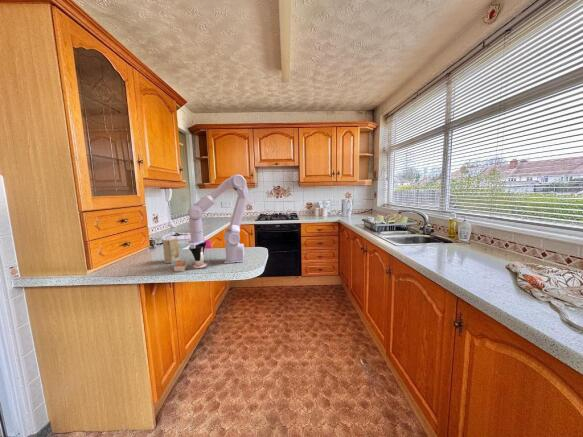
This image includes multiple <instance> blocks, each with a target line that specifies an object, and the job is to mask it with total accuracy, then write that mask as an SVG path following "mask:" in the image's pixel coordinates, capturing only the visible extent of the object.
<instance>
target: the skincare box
mask: <svg viewBox="0 0 583 437" xmlns="http://www.w3.org/2000/svg"><path fill="white" fill-rule="evenodd" d="M162 247H163V248H162V249H163V256H164V263H165V264H173V263H176V262H178V261H180V250H179V243H178V237H170V238H166V239H163V240H162Z"/></svg>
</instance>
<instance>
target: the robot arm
mask: <svg viewBox="0 0 583 437" xmlns="http://www.w3.org/2000/svg"><path fill="white" fill-rule="evenodd" d="M247 183H248V182H247V180H246V178H244V176H243V175H241V174H235V175H231V176H230V177H228V178H226V179H225V180H224V181H223V182H221V183H220V184H219V185H218V186H217V187H216V188H215V189H214V190H213V191H212V192H211V193H210V194H205V195H202V196H201V197H200V199H199V200H198V201H197V202H196V203H195V202H194V203H193V205H192V206H190V207H189V209H188V210H187V215H188V220H189V221H188V222H189V223H188V224H189V234H190V240H189V241H188V244H189V247H188V249H189V251H190V252H191V254H192V256H193V258H194V262H195V261H200V258H201V249H202V247H203V256H204V254H205V248H206V245H207V242H205V237H204V229H203V220H202V216H203V213H205V212H207V211H208V209H210V208H211V207H213V205H215V200H216V199H217V198H218V197H220V195H221V194H223V193H224V192H225V191H226V190H230V189H233V190H234V191H235V192H236V194H237V197H236V202H235V205H234V209H233V212H232V216H231V220H230V223H229V225H228V226H227V229H226V231H224V234H223V239H224V240H225V243H224V248H225V260H224V262H223V263H224V264H232V263H233V264H235V262H237V263H243V262H245V259H244V258H246V255H245V253H246V252H245V244H244V243H240V241H241V237H240V233H241V224H242V220H243V217H244V214H245V208H246V205H247V202H248V198H249V195H250V194H249V189H248V184H247Z"/></svg>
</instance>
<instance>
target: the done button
mask: <svg viewBox="0 0 583 437" xmlns="http://www.w3.org/2000/svg"><path fill="white" fill-rule="evenodd" d="M185 263H186V262H185V260H178V261H176V262H175V266H184V265H185Z"/></svg>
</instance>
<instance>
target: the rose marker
mask: <svg viewBox="0 0 583 437" xmlns="http://www.w3.org/2000/svg"><path fill="white" fill-rule="evenodd" d="M204 261H205V260H204V255H203V247H202V249H201V258H200V261H195V260H194V262H195V265H201V264H204Z"/></svg>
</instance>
